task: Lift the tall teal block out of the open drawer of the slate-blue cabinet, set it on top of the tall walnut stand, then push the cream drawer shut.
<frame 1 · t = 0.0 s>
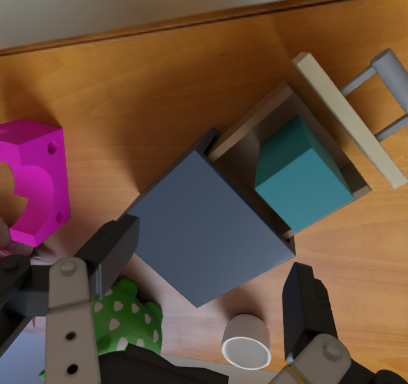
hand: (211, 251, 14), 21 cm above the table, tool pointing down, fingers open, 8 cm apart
decorative flower: (21, 251, 51), on the table
teacup: (249, 326, 47), on the table
drawer: (306, 145, 27), point 4 cm above the table, slide at 10.5 cm, touching block
piggy bank: (129, 296, 50), on the table
cabinet: (211, 202, 37), on the table
block: (292, 147, 29), point 2 cm above the table, touching drawer
toy block: (48, 171, 41), on the table
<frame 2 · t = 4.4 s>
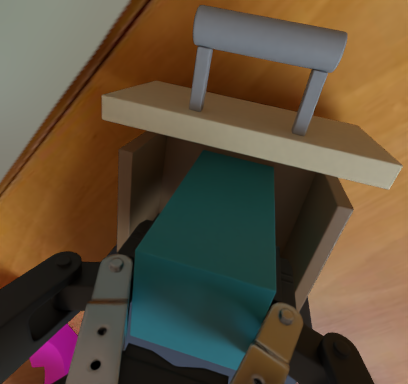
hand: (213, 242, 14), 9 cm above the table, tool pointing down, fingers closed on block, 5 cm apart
drawer: (230, 186, 17), point 4 cm above the table, slide at 10.5 cm, touching block
cabinet: (205, 288, 28), on the table
block: (230, 189, 20), point 2 cm above the table, touching drawer, gripper
toy block: (54, 326, 38), on the table
when the fingers open (28 cm above the table, at t = 11.9 s): block stays where it is, resting on stand.
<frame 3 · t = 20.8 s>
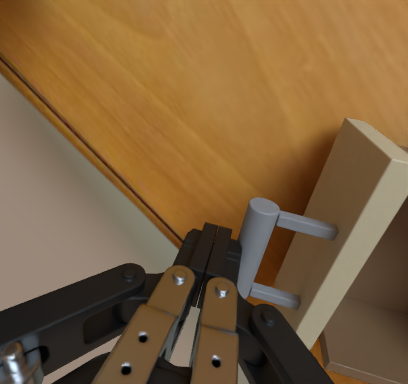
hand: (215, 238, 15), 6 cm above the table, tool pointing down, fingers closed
drawer: (392, 266, 16), point 4 cm above the table, slide at 9.2 cm
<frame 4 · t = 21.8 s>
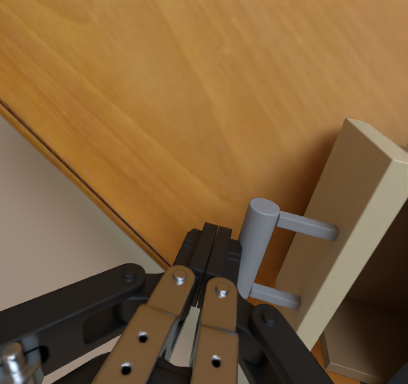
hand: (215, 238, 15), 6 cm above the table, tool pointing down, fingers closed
drawer: (392, 267, 15), point 4 cm above the table, slide at 4.2 cm, touching gripper
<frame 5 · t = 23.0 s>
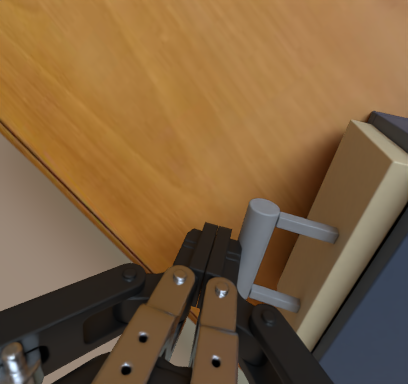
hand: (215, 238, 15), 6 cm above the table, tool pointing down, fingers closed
drawer: (396, 272, 15), point 4 cm above the table, slide at 0.0 cm, touching cabinet, gripper
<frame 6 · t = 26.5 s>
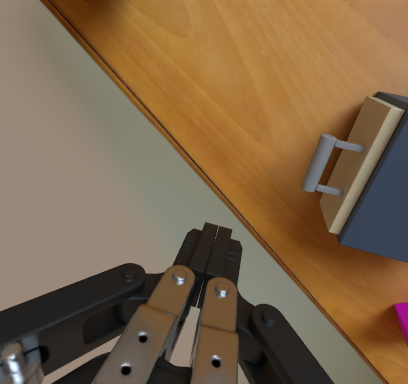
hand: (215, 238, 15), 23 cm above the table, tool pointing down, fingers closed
drawer: (391, 175, 29), point 4 cm above the table, slide at 0.0 cm
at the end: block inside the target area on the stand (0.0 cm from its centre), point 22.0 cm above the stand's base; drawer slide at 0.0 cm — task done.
